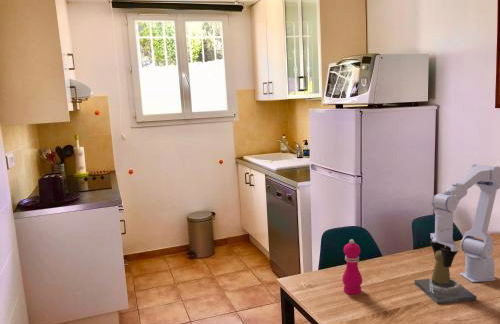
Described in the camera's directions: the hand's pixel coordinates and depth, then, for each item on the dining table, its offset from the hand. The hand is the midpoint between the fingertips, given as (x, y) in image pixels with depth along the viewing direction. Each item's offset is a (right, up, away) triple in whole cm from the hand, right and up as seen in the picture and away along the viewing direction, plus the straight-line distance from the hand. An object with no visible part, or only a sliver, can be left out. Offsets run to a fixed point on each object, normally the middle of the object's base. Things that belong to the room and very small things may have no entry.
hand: (443, 263), depth 144 cm
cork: (0, -6, +1) cm, 6 cm away
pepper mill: (-32, -12, +4) cm, 34 cm away
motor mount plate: (+1, -10, +1) cm, 10 cm away
